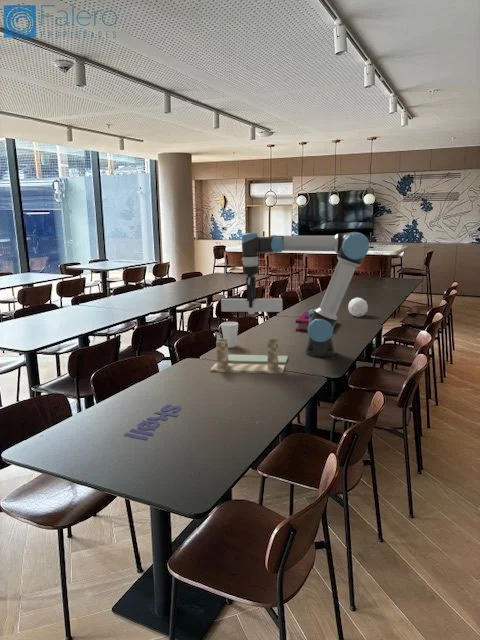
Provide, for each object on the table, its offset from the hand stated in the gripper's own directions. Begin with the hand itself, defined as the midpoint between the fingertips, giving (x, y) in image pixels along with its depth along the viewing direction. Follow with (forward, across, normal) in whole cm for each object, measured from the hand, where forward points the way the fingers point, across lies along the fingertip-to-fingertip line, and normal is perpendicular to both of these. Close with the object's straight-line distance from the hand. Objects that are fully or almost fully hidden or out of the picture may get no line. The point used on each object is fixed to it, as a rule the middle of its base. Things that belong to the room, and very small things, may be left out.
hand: (251, 312), depth 234 cm
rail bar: (-1, 0, 0) cm, 1 cm away
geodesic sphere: (+24, -108, +56) cm, 124 cm away
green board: (+24, 0, 0) cm, 24 cm away
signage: (+25, +77, -22) cm, 84 cm away
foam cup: (+24, -24, -17) cm, 38 cm away
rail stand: (+24, +16, 0) cm, 29 cm away
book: (+25, -74, +28) cm, 83 cm away
